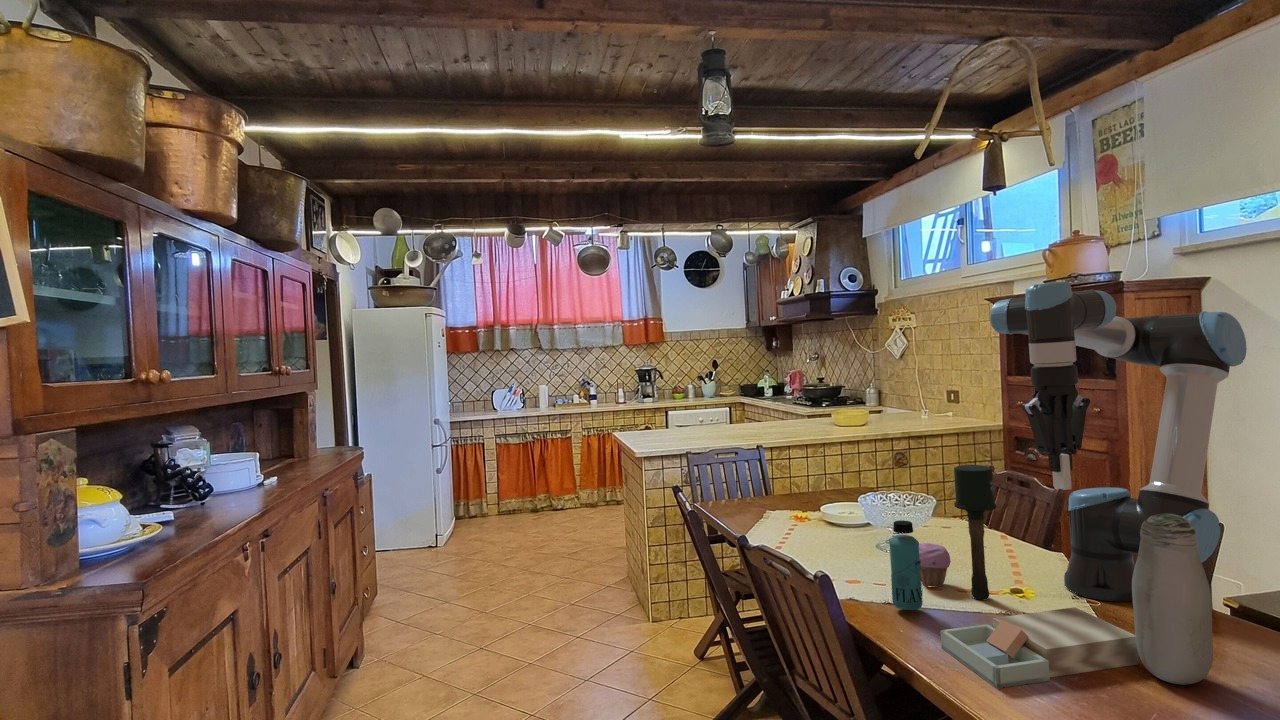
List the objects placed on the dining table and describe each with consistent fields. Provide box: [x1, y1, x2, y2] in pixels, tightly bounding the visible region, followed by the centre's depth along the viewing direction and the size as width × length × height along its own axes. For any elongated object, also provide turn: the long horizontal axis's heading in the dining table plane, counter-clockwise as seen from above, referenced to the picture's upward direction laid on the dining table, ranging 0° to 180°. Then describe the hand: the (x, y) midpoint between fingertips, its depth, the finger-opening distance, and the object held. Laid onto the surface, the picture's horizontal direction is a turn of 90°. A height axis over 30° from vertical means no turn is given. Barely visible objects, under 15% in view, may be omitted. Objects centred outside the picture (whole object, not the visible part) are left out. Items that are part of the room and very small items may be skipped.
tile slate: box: [969, 642, 1008, 666], centre depth 121 cm, size 5×5×2 cm
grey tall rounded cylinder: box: [1132, 514, 1214, 686], centre depth 112 cm, size 10×10×28 cm
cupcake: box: [919, 542, 952, 587], centre depth 162 cm, size 9×9×10 cm
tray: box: [940, 623, 1051, 689], centre depth 122 cm, size 10×16×4 cm, turn 8°
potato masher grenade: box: [953, 464, 997, 600], centre depth 152 cm, size 8×9×30 cm
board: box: [992, 606, 1140, 678], centre depth 124 cm, size 18×14×5 cm
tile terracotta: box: [986, 620, 1029, 659], centre depth 122 cm, size 5×5×2 cm
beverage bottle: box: [888, 520, 924, 611], centre depth 147 cm, size 6×7×20 cm
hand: (1062, 487), depth 126 cm, fingers closed
